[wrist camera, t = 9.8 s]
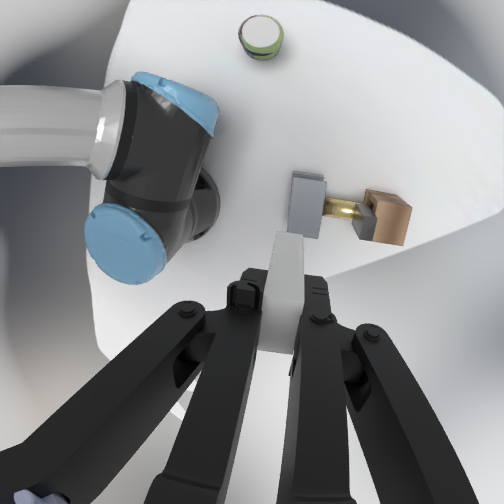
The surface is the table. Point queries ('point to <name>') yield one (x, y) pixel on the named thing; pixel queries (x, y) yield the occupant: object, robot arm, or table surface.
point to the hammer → (353, 216)
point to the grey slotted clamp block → (306, 204)
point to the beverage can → (261, 36)
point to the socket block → (389, 217)
